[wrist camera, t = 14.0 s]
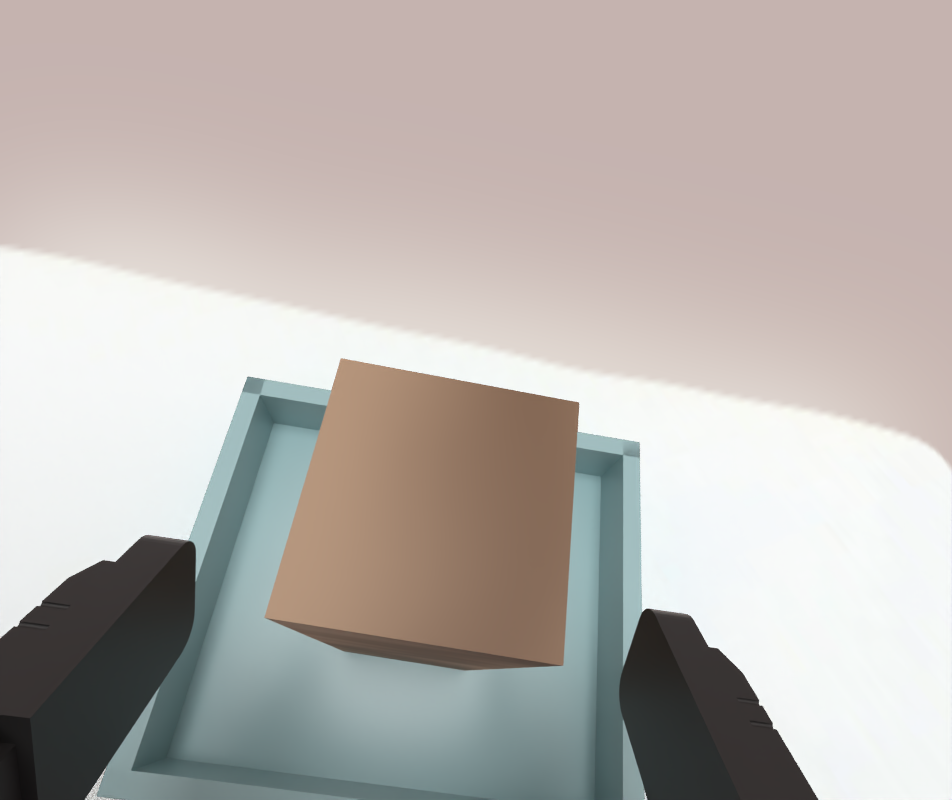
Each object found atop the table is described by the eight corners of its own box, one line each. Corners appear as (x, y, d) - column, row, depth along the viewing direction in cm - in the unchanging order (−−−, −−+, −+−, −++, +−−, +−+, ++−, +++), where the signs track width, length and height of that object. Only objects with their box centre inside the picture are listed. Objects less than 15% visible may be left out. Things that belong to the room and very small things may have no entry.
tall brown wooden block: (343, 651, 18) (264, 617, 7) (371, 529, 20) (341, 358, 9) (464, 670, 18) (563, 665, 7) (481, 548, 20) (579, 402, 9)
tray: (145, 776, 16) (96, 796, 14) (265, 412, 22) (247, 376, 19) (606, 833, 17) (645, 863, 14) (610, 469, 23) (639, 442, 20)
